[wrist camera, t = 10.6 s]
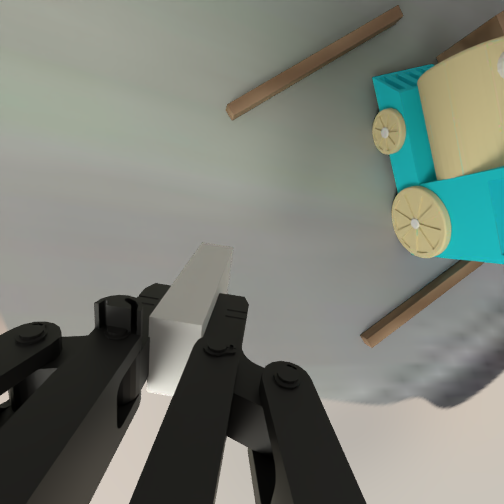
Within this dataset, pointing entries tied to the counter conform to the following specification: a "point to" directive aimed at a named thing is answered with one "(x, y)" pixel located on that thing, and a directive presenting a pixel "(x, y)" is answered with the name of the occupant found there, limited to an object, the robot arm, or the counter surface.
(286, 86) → the bar
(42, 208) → the counter surface
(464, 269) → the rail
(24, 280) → the counter surface
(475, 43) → the buffer stop
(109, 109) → the counter surface
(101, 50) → the counter surface
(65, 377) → the robot arm
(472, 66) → the toy train
